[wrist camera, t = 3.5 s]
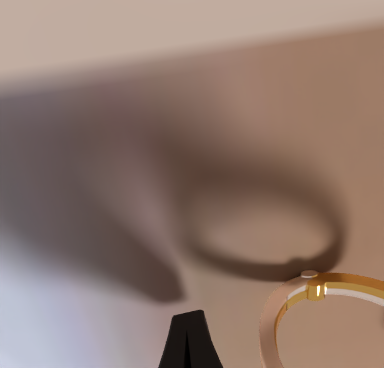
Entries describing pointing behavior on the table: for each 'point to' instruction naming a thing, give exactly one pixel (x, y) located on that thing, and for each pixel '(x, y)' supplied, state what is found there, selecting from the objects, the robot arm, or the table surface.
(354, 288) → the ring
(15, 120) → the table surface
